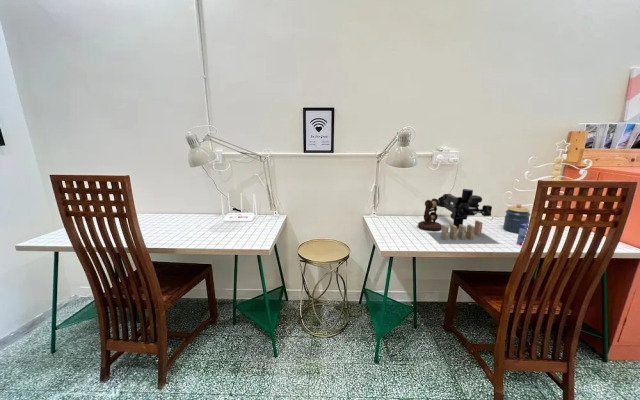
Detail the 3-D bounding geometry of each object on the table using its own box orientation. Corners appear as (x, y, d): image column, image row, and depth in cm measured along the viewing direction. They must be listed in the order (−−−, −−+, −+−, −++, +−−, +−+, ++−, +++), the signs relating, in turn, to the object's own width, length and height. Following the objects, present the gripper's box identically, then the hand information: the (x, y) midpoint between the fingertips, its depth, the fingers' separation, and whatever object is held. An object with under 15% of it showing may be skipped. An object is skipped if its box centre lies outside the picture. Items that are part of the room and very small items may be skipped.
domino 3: (461, 240, 156) (463, 227, 154) (457, 237, 161) (459, 224, 159) (464, 240, 156) (466, 227, 154) (460, 237, 161) (461, 224, 159)
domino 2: (453, 240, 156) (454, 227, 154) (449, 237, 161) (450, 224, 159) (455, 240, 156) (457, 227, 154) (452, 237, 161) (453, 224, 159)
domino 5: (478, 235, 163) (479, 222, 161) (473, 232, 168) (475, 220, 166) (480, 235, 163) (482, 222, 161) (476, 232, 168) (478, 220, 166)
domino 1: (444, 240, 156) (445, 227, 154) (441, 237, 161) (442, 224, 159) (447, 240, 156) (448, 227, 154) (443, 237, 161) (444, 224, 159)
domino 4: (470, 240, 156) (472, 227, 154) (466, 237, 160) (467, 224, 159) (473, 240, 156) (474, 227, 154) (468, 237, 160) (470, 224, 159)
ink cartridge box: (526, 248, 144) (531, 223, 141) (515, 244, 149) (520, 220, 146) (537, 245, 148) (542, 220, 145) (526, 241, 153) (530, 217, 150)
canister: (526, 229, 174) (531, 203, 170) (528, 235, 163) (533, 207, 159) (502, 225, 181) (506, 200, 177) (502, 231, 170) (507, 204, 166)
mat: (427, 232, 169) (427, 232, 169) (481, 232, 168) (481, 232, 168) (439, 244, 151) (439, 243, 151) (500, 244, 150) (500, 243, 150)
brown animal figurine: (426, 223, 188) (428, 195, 183) (446, 229, 176) (449, 199, 171) (413, 227, 180) (415, 198, 175) (433, 233, 168) (435, 203, 163)
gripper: (455, 194, 163) (468, 200, 148) (485, 194, 163) (502, 201, 148) (452, 211, 166) (465, 219, 151) (482, 211, 166) (498, 220, 151)
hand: (482, 214), depth 150 cm, fingers open, 9 cm apart
